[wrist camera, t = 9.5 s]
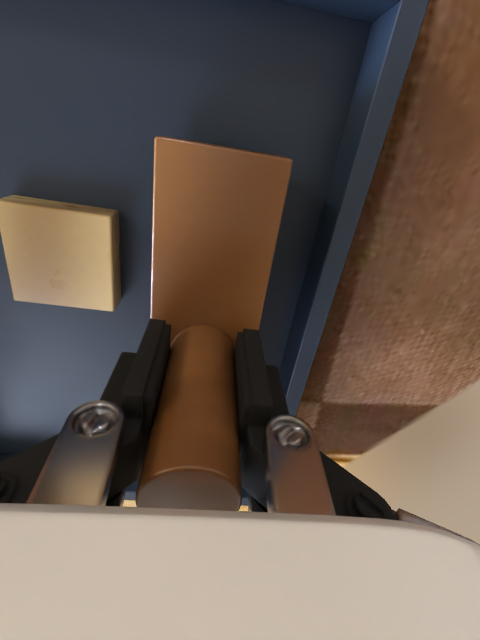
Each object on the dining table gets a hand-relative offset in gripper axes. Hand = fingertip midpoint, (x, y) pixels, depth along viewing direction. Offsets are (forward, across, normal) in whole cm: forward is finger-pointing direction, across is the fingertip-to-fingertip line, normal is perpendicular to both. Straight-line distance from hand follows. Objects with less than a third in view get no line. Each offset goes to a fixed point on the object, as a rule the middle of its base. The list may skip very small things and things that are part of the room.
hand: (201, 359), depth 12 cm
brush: (+3, 0, 0) cm, 3 cm away
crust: (+4, +6, -2) cm, 7 cm away
